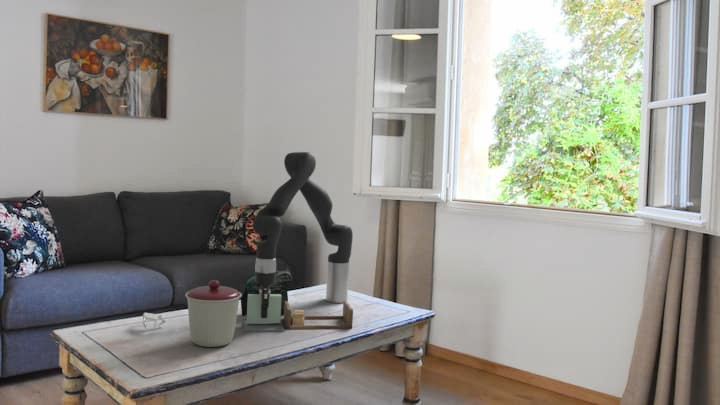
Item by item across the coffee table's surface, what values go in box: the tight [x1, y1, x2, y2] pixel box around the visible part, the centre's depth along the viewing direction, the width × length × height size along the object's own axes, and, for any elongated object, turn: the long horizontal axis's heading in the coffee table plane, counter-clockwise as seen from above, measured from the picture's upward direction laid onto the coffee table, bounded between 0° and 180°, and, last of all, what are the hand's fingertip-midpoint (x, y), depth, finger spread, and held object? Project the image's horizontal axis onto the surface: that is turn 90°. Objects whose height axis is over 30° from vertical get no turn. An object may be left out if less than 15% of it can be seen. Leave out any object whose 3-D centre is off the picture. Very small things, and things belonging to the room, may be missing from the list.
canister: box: [184, 279, 242, 348], centre depth 212 cm, size 18×18×21 cm
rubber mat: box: [242, 318, 285, 333], centre depth 235 cm, size 14×14×1 cm
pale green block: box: [246, 294, 282, 323], centre depth 235 cm, size 3×12×10 cm, turn 102°
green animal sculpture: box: [240, 265, 293, 317], centre depth 250 cm, size 20×6×20 cm, turn 108°
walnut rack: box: [283, 300, 354, 330], centre depth 242 cm, size 14×24×7 cm, turn 102°
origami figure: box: [142, 312, 167, 334], centre depth 225 cm, size 12×8×5 cm
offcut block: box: [291, 309, 305, 326], centre depth 241 cm, size 8×4×4 cm, turn 5°
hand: (263, 316), depth 235 cm, fingers closed on pale green block, 3 cm apart
